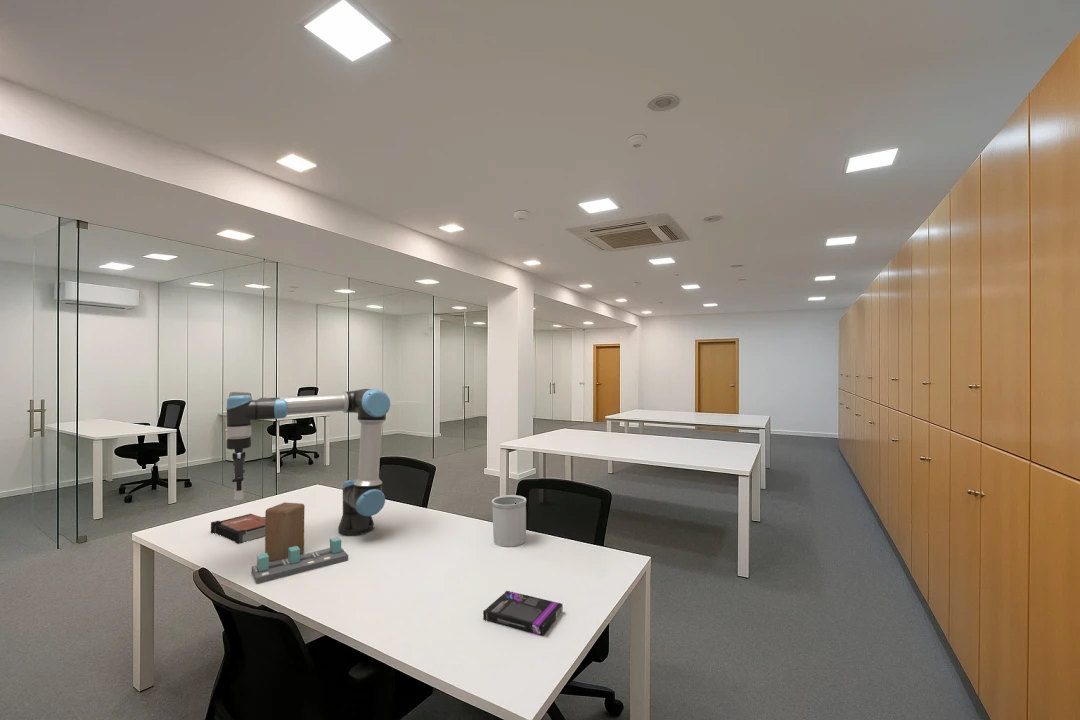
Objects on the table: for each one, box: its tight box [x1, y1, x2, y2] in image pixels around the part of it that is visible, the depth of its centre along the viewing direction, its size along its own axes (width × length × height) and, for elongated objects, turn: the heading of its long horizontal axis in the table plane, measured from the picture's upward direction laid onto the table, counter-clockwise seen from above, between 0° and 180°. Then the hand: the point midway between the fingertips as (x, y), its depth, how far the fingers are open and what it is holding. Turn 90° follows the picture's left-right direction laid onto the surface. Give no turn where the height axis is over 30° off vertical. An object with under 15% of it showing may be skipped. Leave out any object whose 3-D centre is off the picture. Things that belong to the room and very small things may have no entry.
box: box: [482, 590, 564, 637], centre depth 132 cm, size 14×4×20 cm
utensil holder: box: [491, 494, 527, 548], centre depth 191 cm, size 15×15×18 cm
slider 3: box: [329, 536, 342, 553], centre depth 176 cm, size 3×4×4 cm, turn 40°
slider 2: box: [288, 546, 300, 564], centre depth 166 cm, size 3×4×4 cm, turn 40°
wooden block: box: [264, 502, 305, 562], centre depth 175 cm, size 10×10×20 cm
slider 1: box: [256, 552, 270, 572], centre depth 160 cm, size 3×4×4 cm, turn 40°
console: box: [251, 546, 349, 585], centre depth 167 cm, size 30×12×3 cm, turn 130°
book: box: [210, 513, 265, 545], centre depth 203 cm, size 26×18×5 cm
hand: (238, 495), depth 165 cm, fingers open, 13 cm apart
